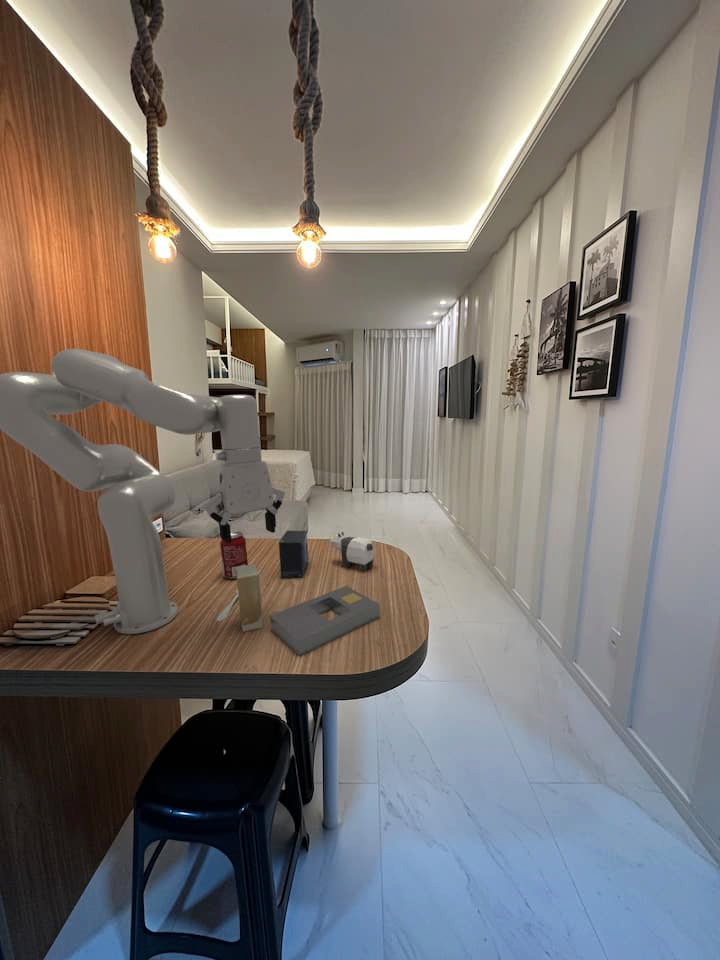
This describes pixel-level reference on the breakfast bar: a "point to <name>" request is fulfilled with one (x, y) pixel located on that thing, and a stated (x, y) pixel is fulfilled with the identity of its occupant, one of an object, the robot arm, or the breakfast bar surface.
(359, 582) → the breakfast bar surface
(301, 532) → the small box
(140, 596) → the robot arm
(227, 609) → the spoon
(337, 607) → the grey slotted base block
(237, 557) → the soda can
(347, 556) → the giant panda
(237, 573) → the skincare box
